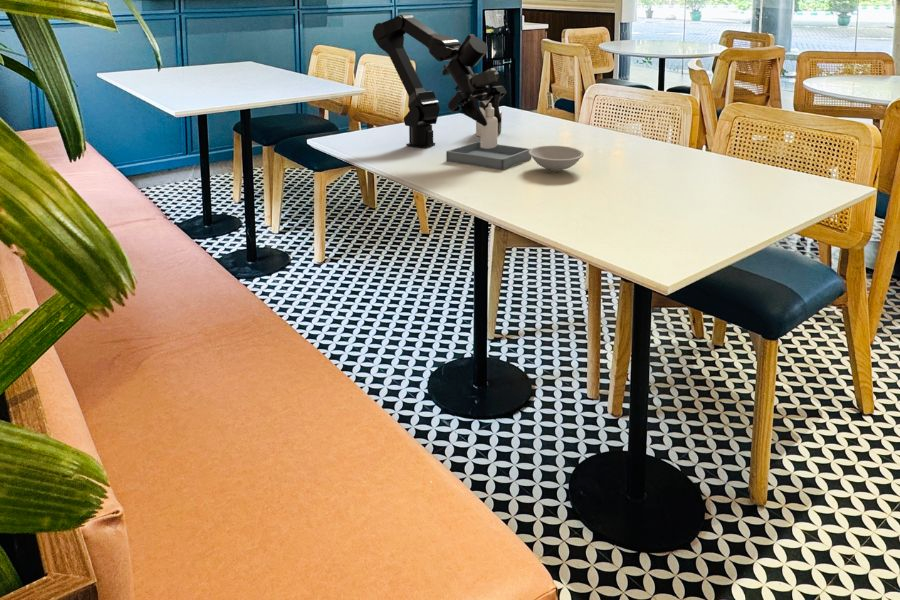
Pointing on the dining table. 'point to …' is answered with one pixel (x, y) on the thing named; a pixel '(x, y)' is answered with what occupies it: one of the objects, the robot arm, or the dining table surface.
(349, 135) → the dining table surface
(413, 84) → the robot arm
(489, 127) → the eye dropper bottle
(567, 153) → the dish
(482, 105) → the medicine bottle
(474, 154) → the slate tray
